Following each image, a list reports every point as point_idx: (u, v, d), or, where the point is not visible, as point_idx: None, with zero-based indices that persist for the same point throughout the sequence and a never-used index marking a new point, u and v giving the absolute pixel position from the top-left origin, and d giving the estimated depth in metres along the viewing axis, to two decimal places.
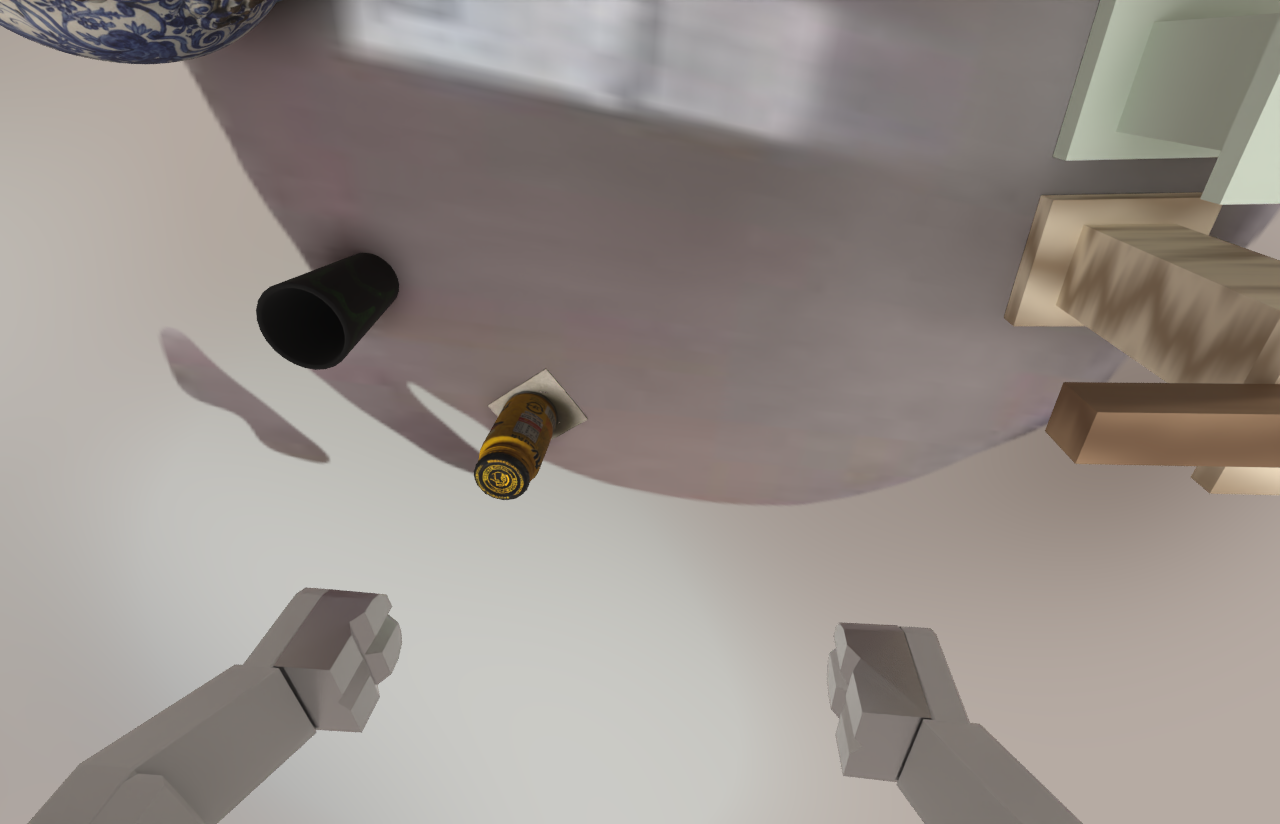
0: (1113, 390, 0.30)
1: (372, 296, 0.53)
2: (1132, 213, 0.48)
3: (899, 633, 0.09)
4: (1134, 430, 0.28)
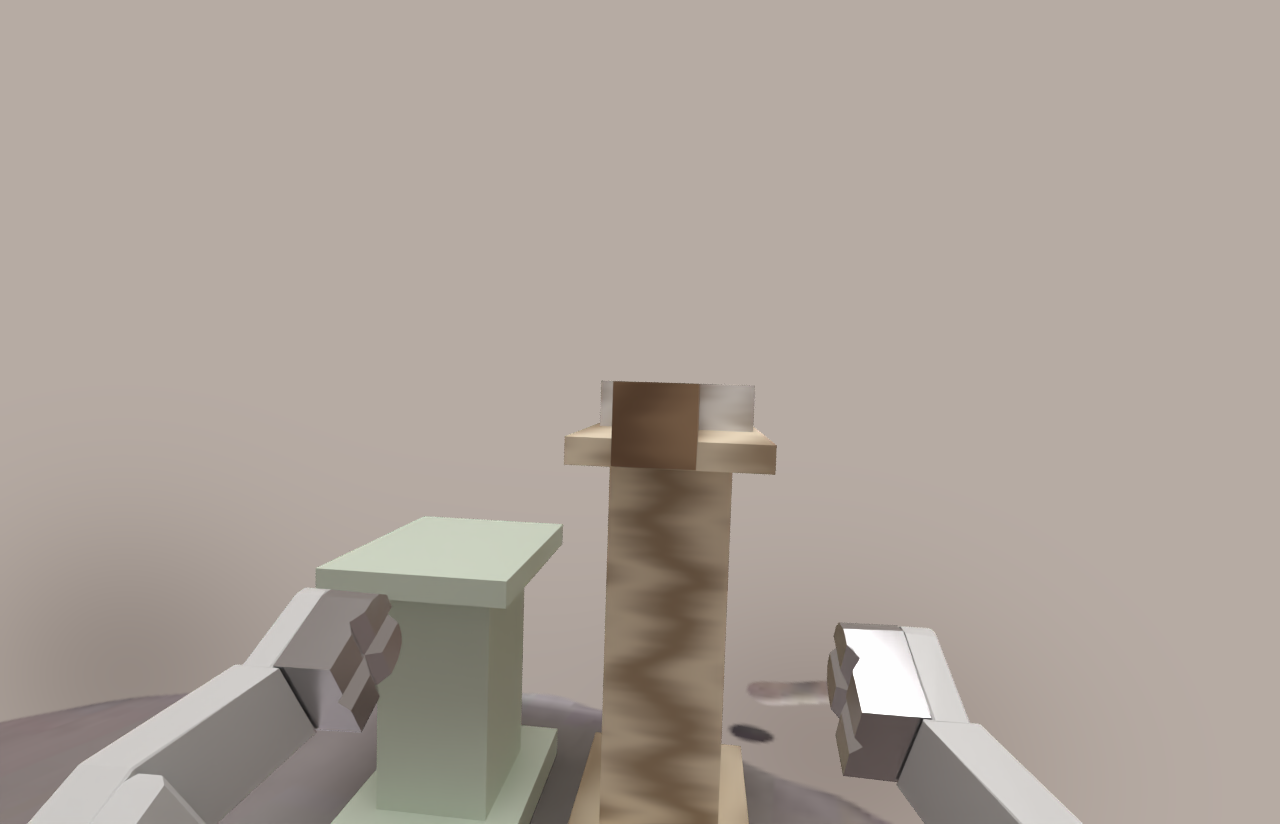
0: None
1: None
2: (595, 792, 0.39)
3: (900, 633, 0.09)
4: None
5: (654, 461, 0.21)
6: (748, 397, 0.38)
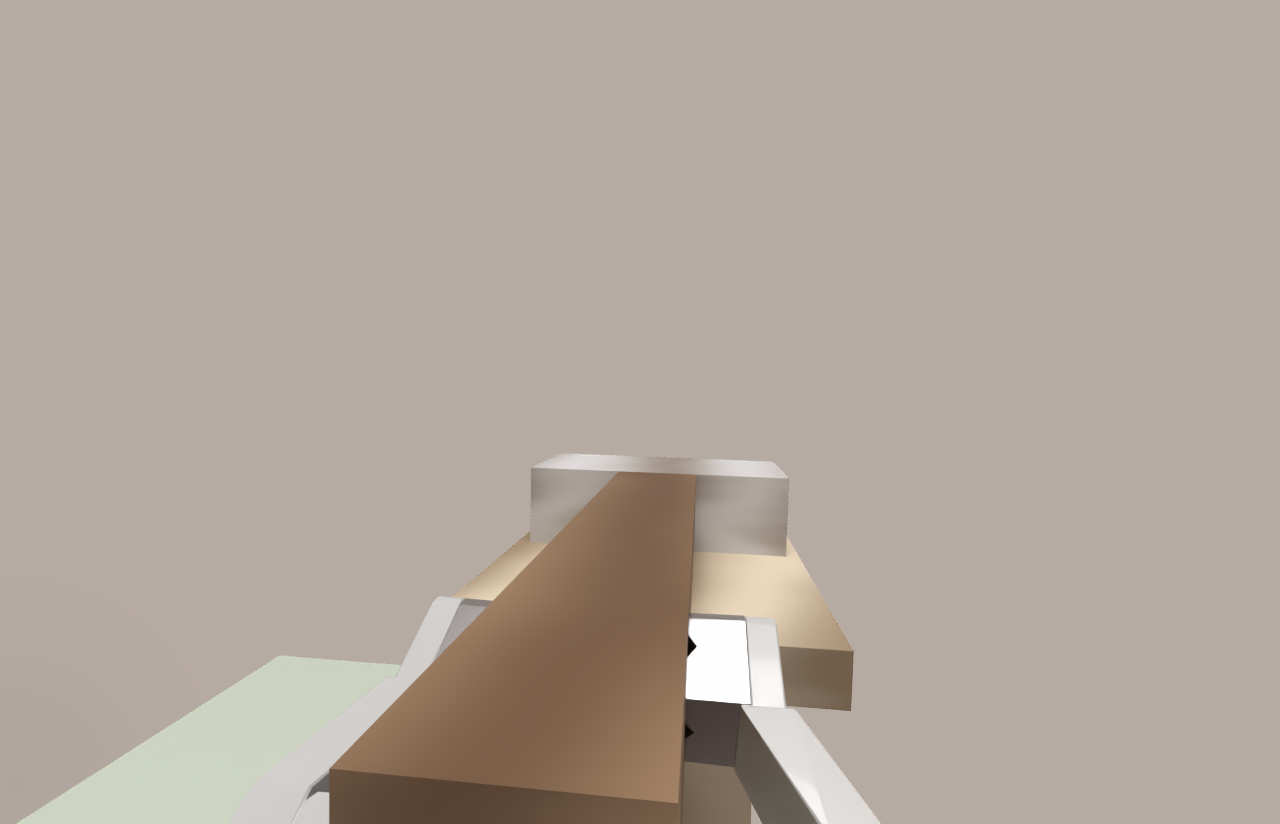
0: None
1: None
2: None
3: (741, 623, 0.10)
4: (513, 667, 0.07)
5: None
6: (778, 498, 0.22)
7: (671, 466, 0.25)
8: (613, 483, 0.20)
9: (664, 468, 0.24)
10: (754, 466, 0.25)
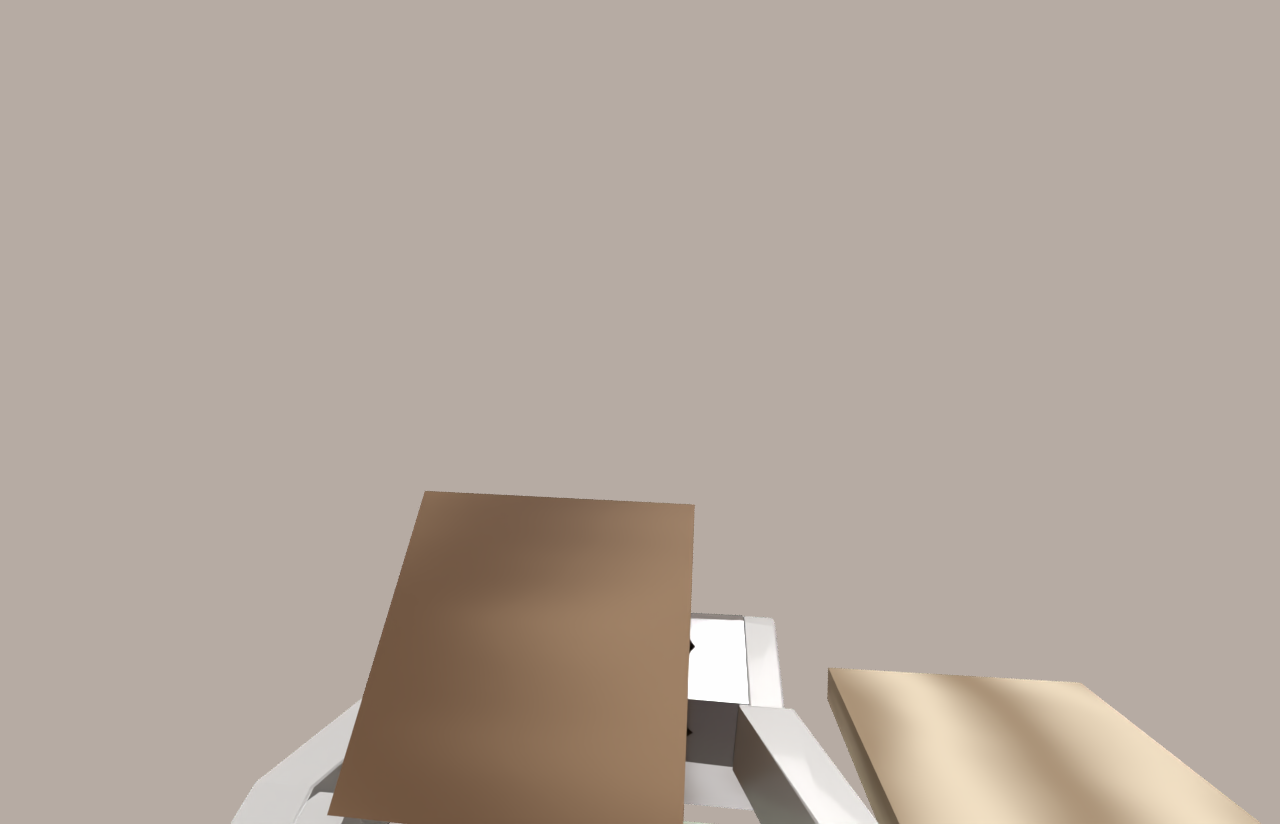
0: None
1: None
2: None
3: (740, 623, 0.10)
4: None
5: (510, 799, 0.05)
6: None
7: None
8: None
9: None
10: None
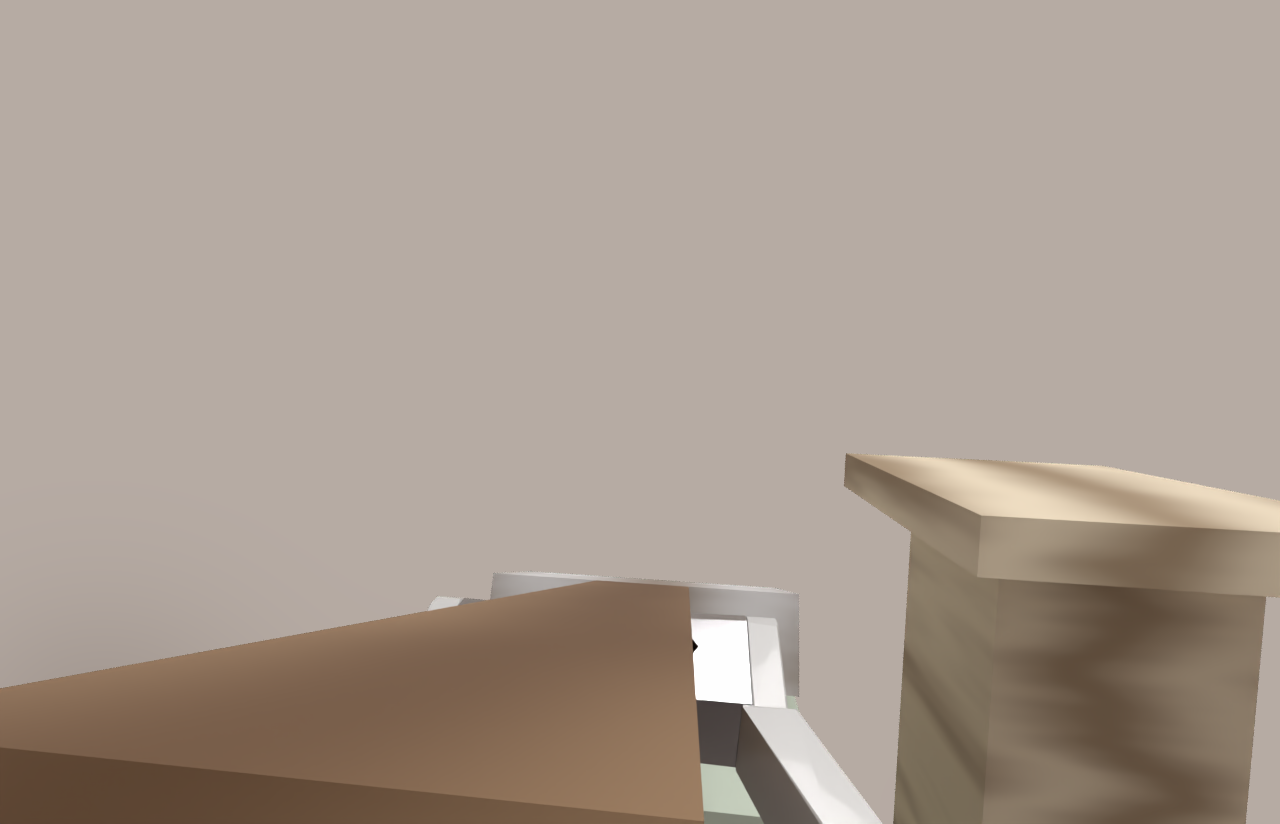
0: None
1: None
2: None
3: (743, 623, 0.10)
4: (382, 656, 0.04)
5: None
6: (787, 619, 0.19)
7: (659, 582, 0.21)
8: (589, 583, 0.17)
9: (651, 582, 0.20)
10: (755, 588, 0.22)
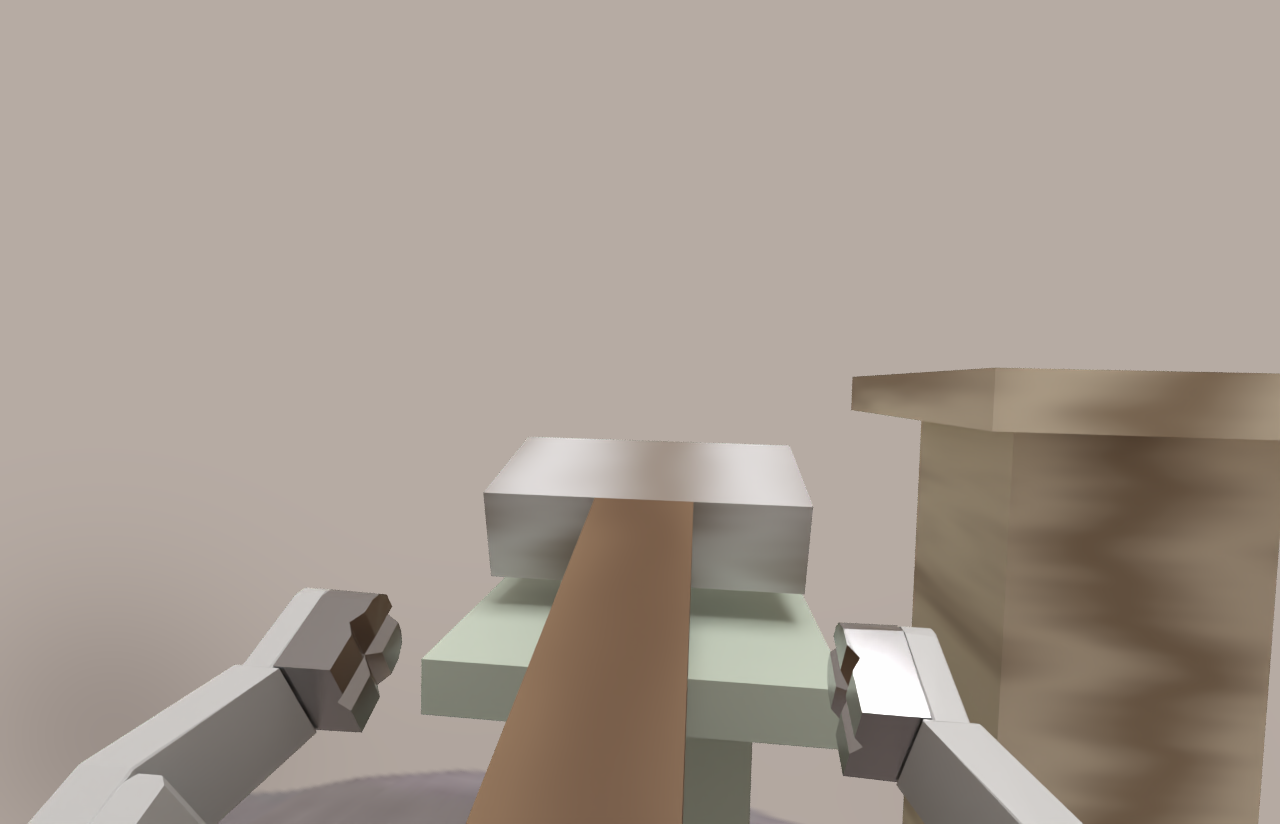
0: None
1: None
2: None
3: (900, 633, 0.09)
4: None
5: None
6: (797, 530, 0.18)
7: (662, 473, 0.20)
8: (583, 547, 0.15)
9: (653, 481, 0.19)
10: (767, 465, 0.20)
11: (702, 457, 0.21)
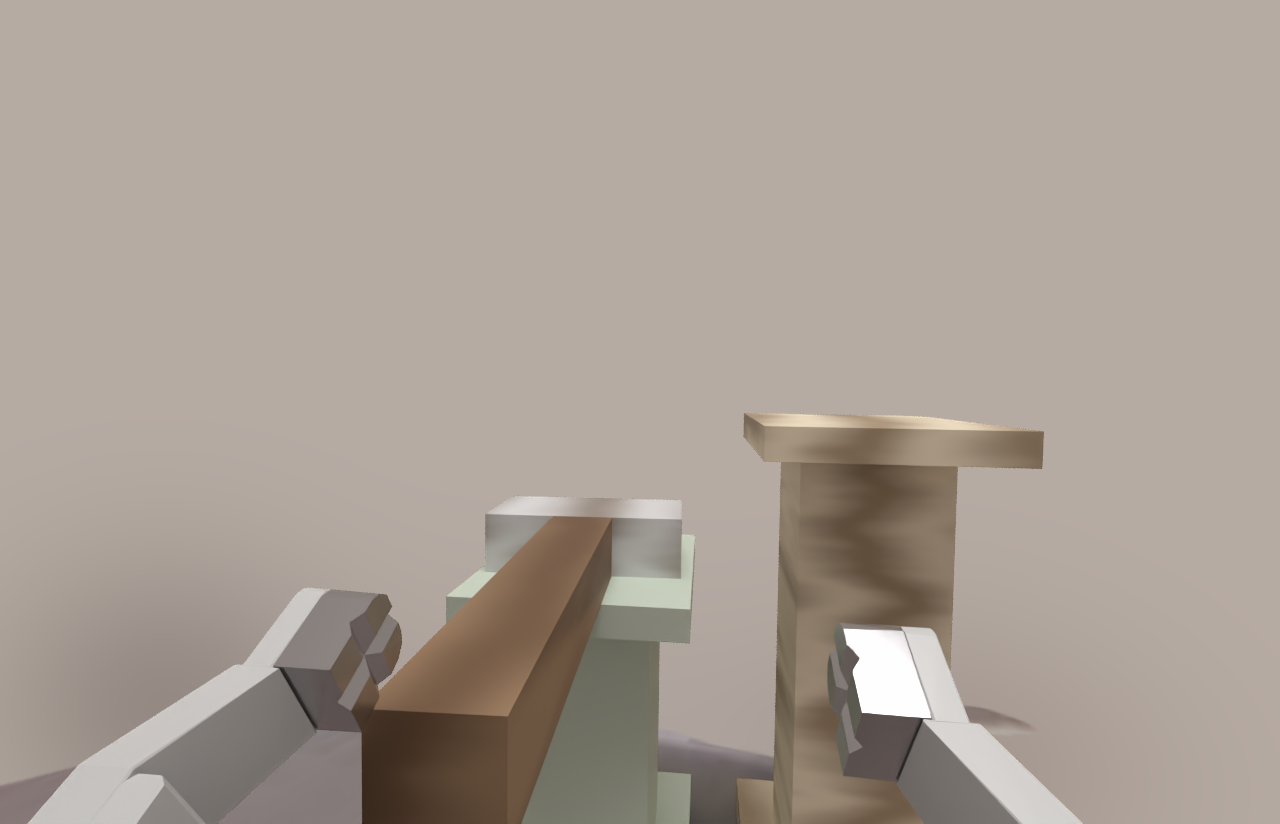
0: None
1: None
2: None
3: (900, 633, 0.09)
4: (448, 664, 0.14)
5: None
6: (674, 535, 0.29)
7: (596, 509, 0.32)
8: (544, 529, 0.27)
9: (590, 511, 0.31)
10: (663, 506, 0.32)
11: (623, 504, 0.33)
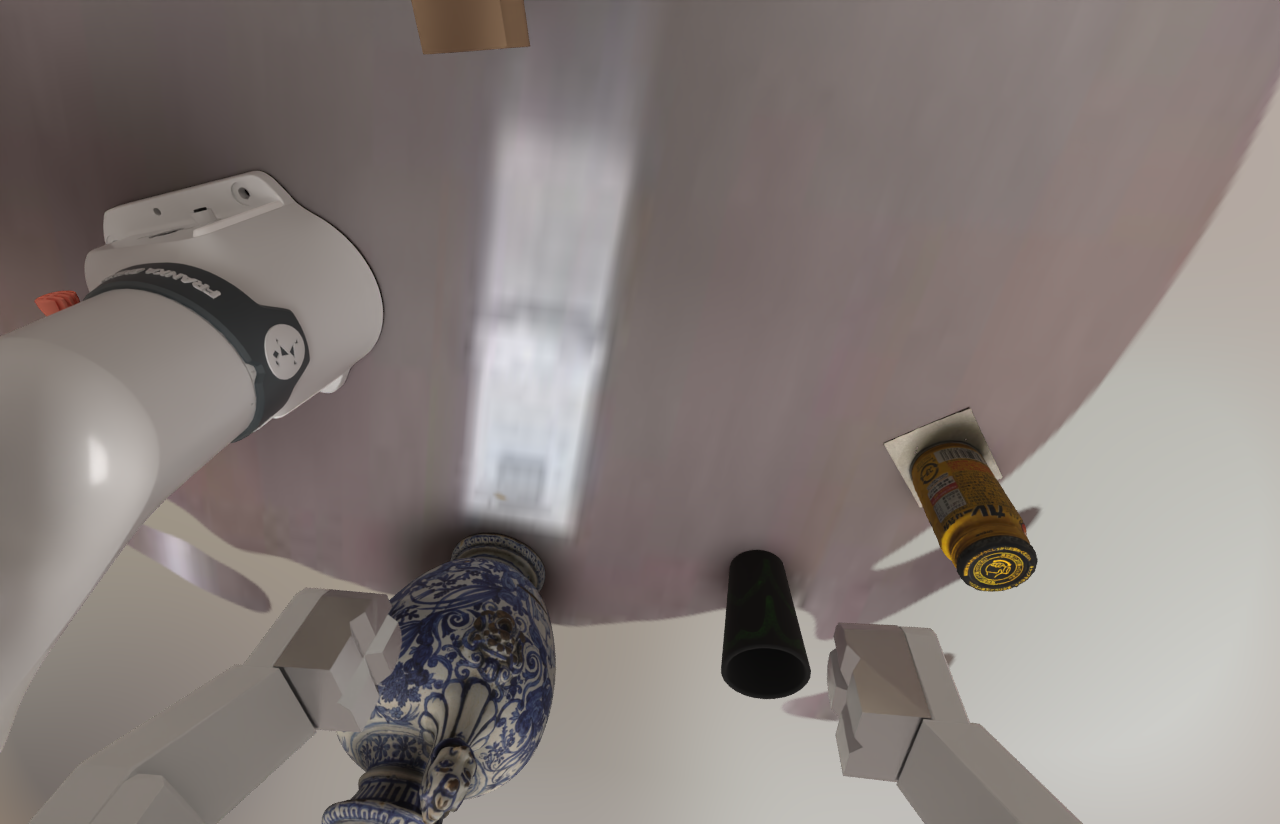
0: None
1: (757, 594, 0.55)
2: None
3: (900, 633, 0.09)
4: None
5: None
6: None
7: None
8: None
9: None
10: None
11: None
